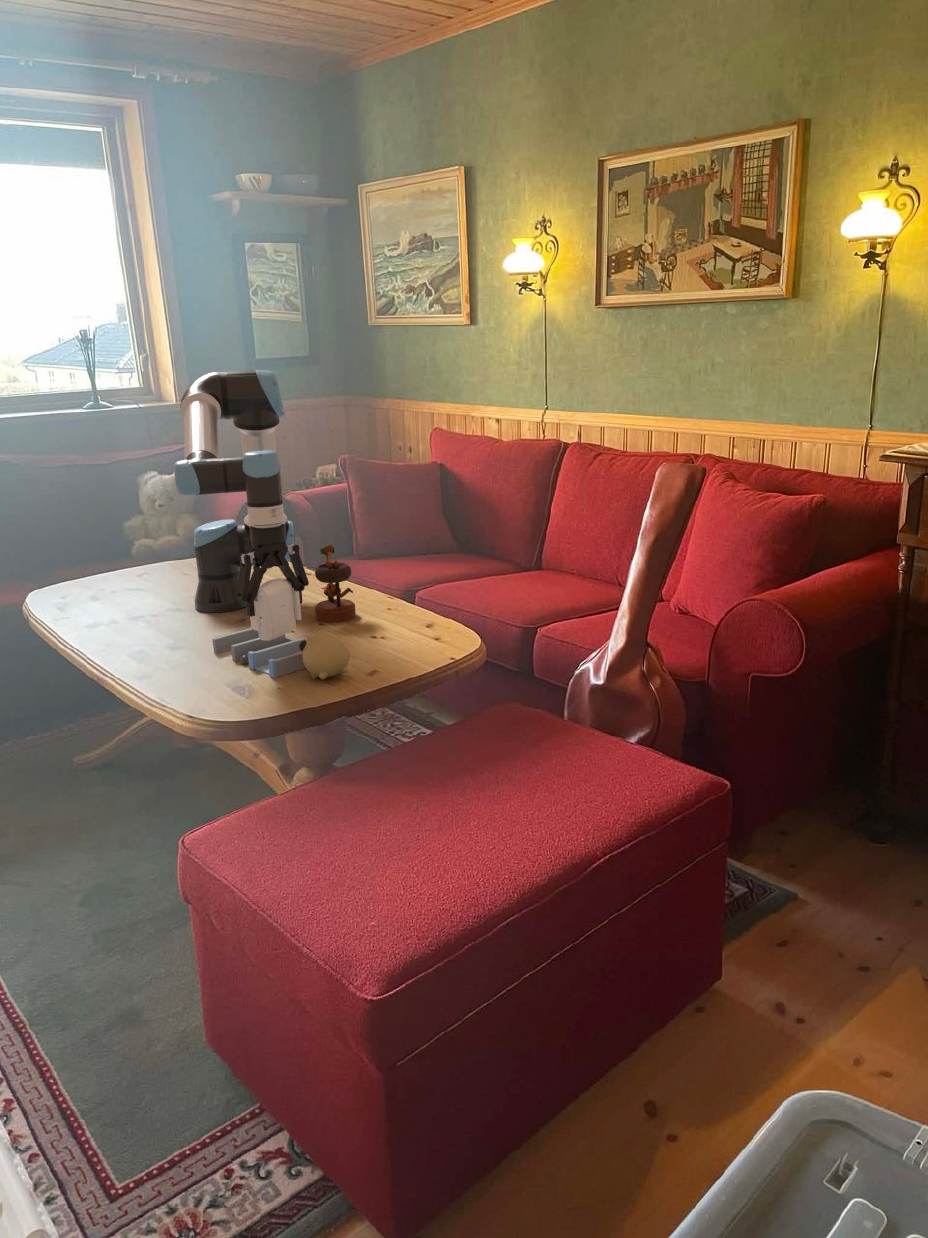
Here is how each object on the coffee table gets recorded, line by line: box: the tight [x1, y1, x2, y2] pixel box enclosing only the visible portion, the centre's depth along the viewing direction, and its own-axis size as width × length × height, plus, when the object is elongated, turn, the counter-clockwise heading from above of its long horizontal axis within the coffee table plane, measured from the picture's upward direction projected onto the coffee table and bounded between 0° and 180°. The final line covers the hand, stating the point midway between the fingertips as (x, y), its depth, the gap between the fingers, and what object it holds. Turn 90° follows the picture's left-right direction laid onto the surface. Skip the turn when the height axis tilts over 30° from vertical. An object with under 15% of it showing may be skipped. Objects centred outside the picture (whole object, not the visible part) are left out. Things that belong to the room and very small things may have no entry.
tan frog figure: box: [299, 630, 351, 680], centre depth 200 cm, size 10×12×11 cm
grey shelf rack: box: [212, 627, 307, 679], centre depth 216 cm, size 26×16×4 cm, turn 45°
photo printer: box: [255, 578, 297, 641], centre depth 205 cm, size 10×4×12 cm, turn 155°
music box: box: [314, 543, 357, 624], centre depth 242 cm, size 15×11×20 cm
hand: (276, 624), depth 206 cm, fingers closed on photo printer, 10 cm apart
